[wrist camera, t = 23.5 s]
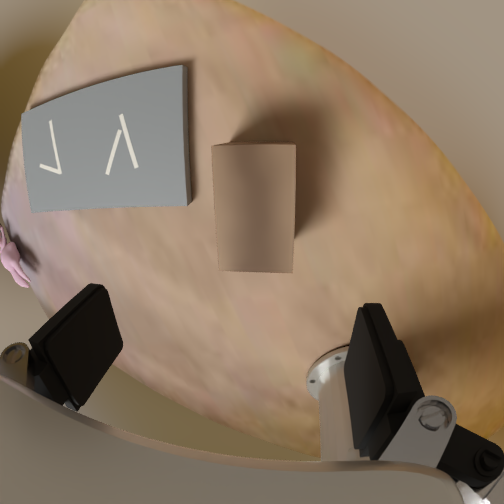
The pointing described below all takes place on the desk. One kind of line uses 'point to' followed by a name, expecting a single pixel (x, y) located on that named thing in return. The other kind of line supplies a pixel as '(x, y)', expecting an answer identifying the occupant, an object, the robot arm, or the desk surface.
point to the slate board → (111, 145)
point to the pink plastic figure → (12, 259)
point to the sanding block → (254, 205)
